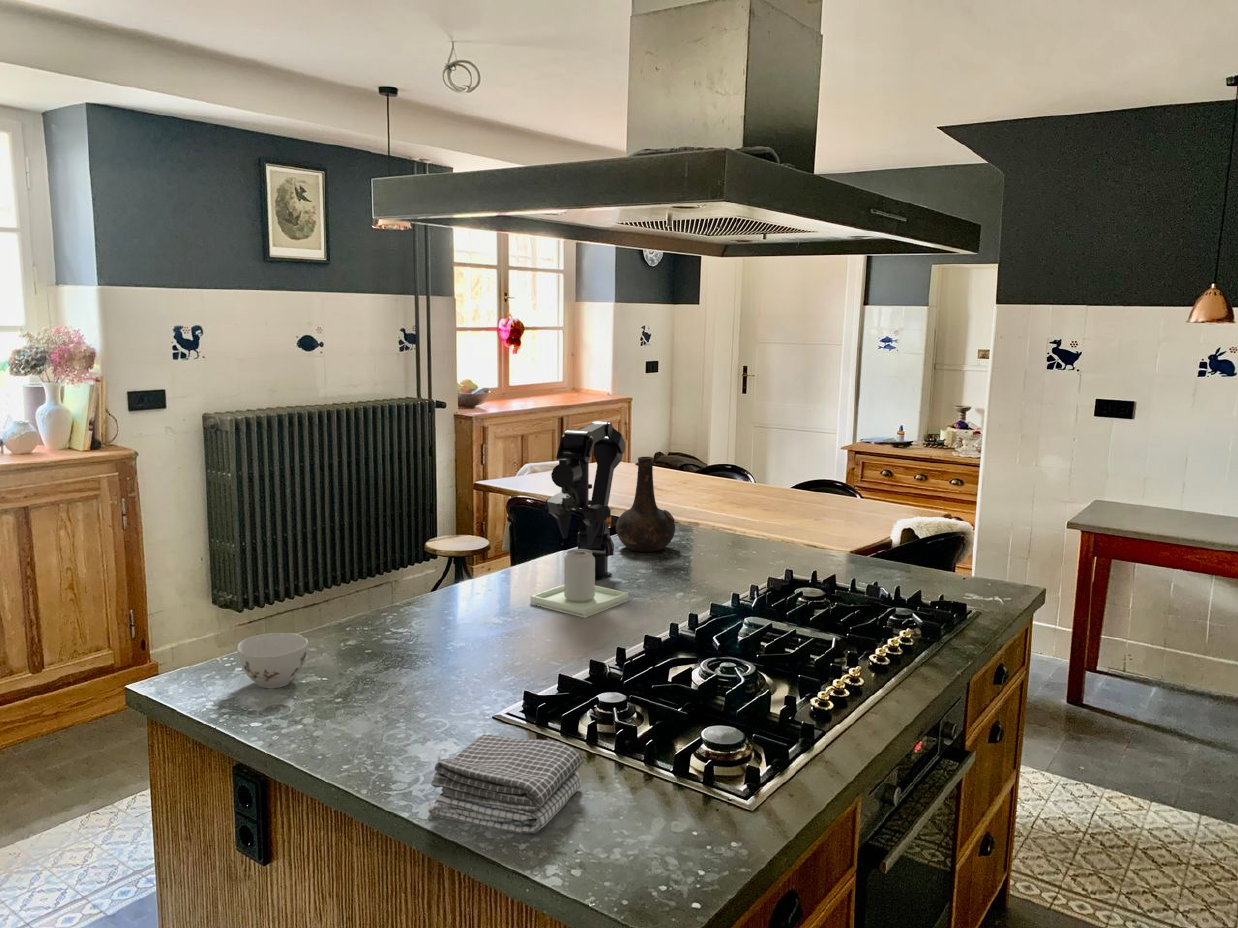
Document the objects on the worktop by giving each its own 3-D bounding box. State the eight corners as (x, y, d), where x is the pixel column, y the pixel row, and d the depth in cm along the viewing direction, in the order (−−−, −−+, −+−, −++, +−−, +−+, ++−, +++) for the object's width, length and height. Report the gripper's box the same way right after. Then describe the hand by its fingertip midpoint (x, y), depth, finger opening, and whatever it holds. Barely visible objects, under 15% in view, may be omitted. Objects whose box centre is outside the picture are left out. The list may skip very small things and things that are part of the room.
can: (596, 594, 231) (596, 548, 230) (593, 604, 224) (593, 555, 222) (566, 594, 232) (566, 547, 230) (562, 603, 225) (562, 554, 223)
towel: (542, 842, 124) (542, 787, 123) (423, 816, 130) (421, 763, 129) (585, 789, 138) (585, 739, 137) (475, 767, 145) (474, 720, 143)
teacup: (278, 700, 168) (276, 658, 167) (223, 690, 173) (221, 649, 171) (331, 671, 182) (329, 632, 181) (279, 662, 187) (277, 624, 185)
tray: (575, 588, 240) (575, 580, 240) (628, 600, 230) (628, 592, 230) (530, 603, 226) (530, 595, 226) (585, 617, 216) (585, 609, 216)
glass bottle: (669, 558, 271) (670, 463, 267) (609, 553, 275) (610, 460, 271) (679, 543, 288) (681, 454, 284) (623, 540, 292) (624, 451, 288)
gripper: (528, 479, 234) (528, 540, 237) (579, 489, 221) (579, 553, 224) (561, 474, 242) (561, 533, 245) (612, 484, 229) (611, 545, 232)
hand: (577, 541), depth 236 cm, fingers open, 9 cm apart
